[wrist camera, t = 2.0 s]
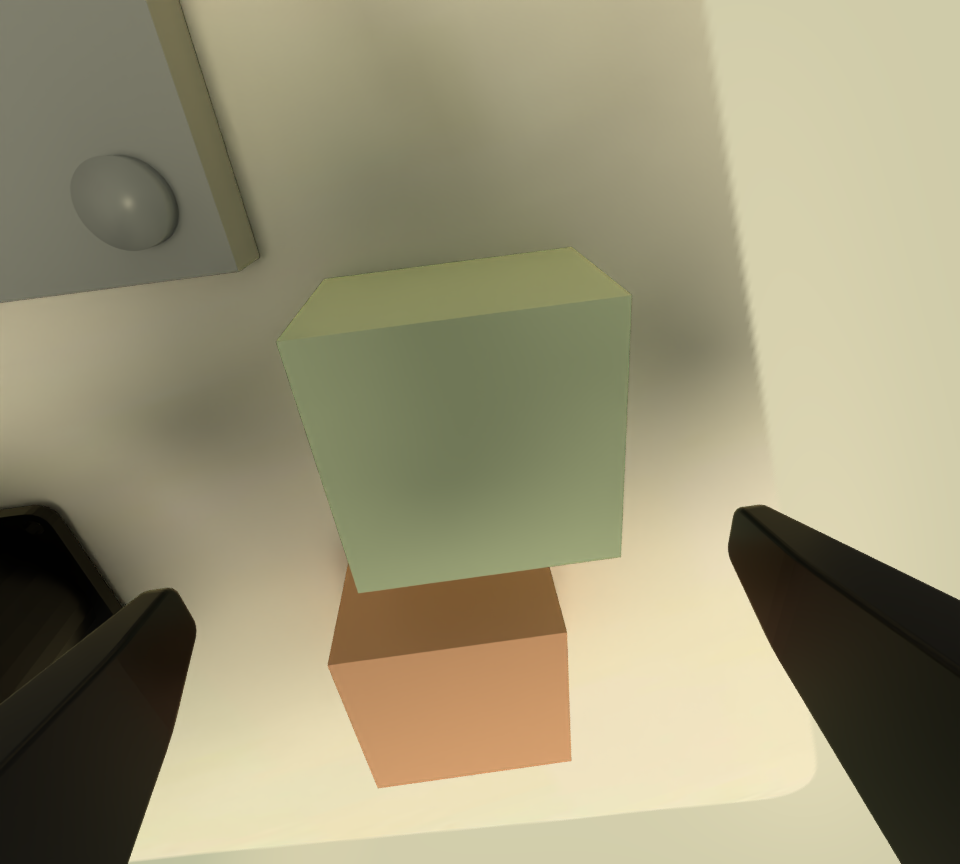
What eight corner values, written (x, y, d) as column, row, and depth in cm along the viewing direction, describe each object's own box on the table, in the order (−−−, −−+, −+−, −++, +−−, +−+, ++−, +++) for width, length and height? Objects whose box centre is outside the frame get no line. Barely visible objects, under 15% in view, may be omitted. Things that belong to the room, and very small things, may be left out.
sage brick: (574, 451, 16) (620, 556, 12) (377, 478, 15) (358, 593, 12) (570, 245, 12) (631, 295, 9) (325, 277, 12) (276, 341, 8)
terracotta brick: (543, 637, 20) (571, 761, 16) (389, 659, 20) (378, 788, 16) (535, 516, 17) (567, 632, 13) (352, 541, 17) (327, 665, 13)
